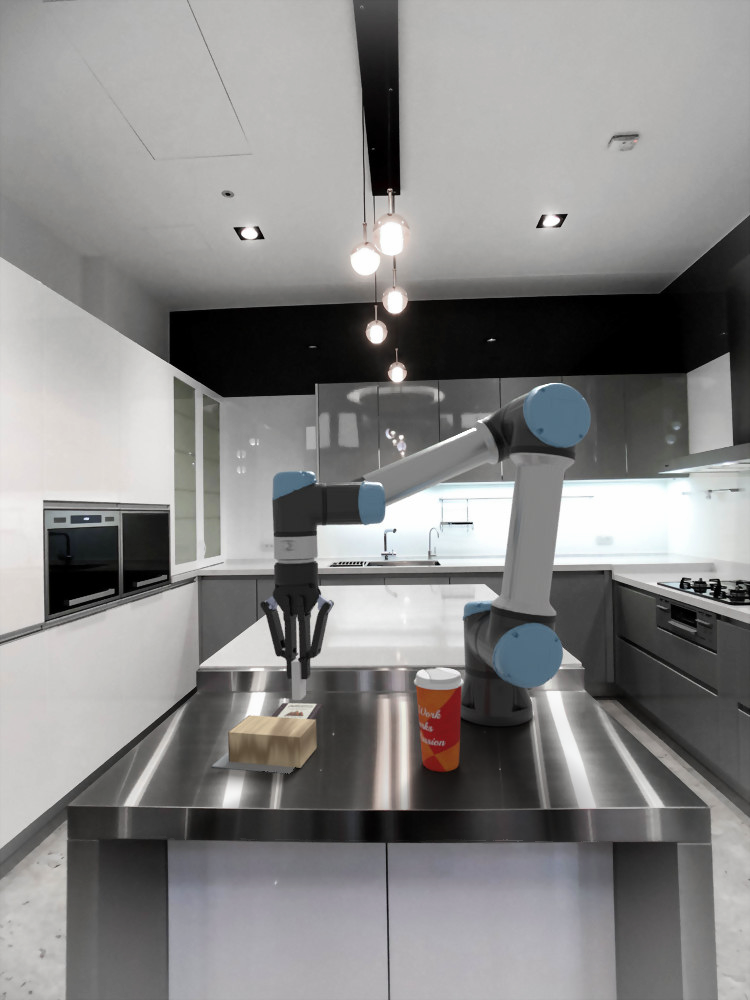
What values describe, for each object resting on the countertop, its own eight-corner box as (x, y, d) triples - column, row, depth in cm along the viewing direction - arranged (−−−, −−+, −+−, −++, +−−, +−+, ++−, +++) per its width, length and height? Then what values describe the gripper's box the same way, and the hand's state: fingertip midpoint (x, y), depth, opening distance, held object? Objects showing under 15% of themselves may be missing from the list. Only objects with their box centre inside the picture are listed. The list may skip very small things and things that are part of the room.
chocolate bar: (254, 735, 108) (282, 703, 126) (254, 740, 108) (282, 707, 126) (301, 737, 107) (322, 703, 125) (301, 742, 107) (323, 708, 125)
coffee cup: (408, 758, 98) (405, 669, 98) (450, 749, 101) (448, 664, 101) (429, 779, 90) (427, 683, 90) (475, 769, 93) (473, 676, 93)
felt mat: (315, 743, 105) (314, 742, 105) (290, 773, 93) (290, 772, 93) (244, 738, 108) (244, 737, 108) (212, 766, 97) (212, 765, 97)
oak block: (315, 719, 103) (249, 715, 106) (299, 737, 95) (228, 732, 98) (316, 747, 103) (249, 742, 106) (300, 767, 95) (228, 761, 98)
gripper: (251, 562, 98) (254, 702, 97) (324, 562, 94) (328, 707, 94) (269, 558, 105) (272, 688, 105) (338, 558, 102) (341, 692, 102)
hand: (299, 697), depth 99 cm, fingers closed
